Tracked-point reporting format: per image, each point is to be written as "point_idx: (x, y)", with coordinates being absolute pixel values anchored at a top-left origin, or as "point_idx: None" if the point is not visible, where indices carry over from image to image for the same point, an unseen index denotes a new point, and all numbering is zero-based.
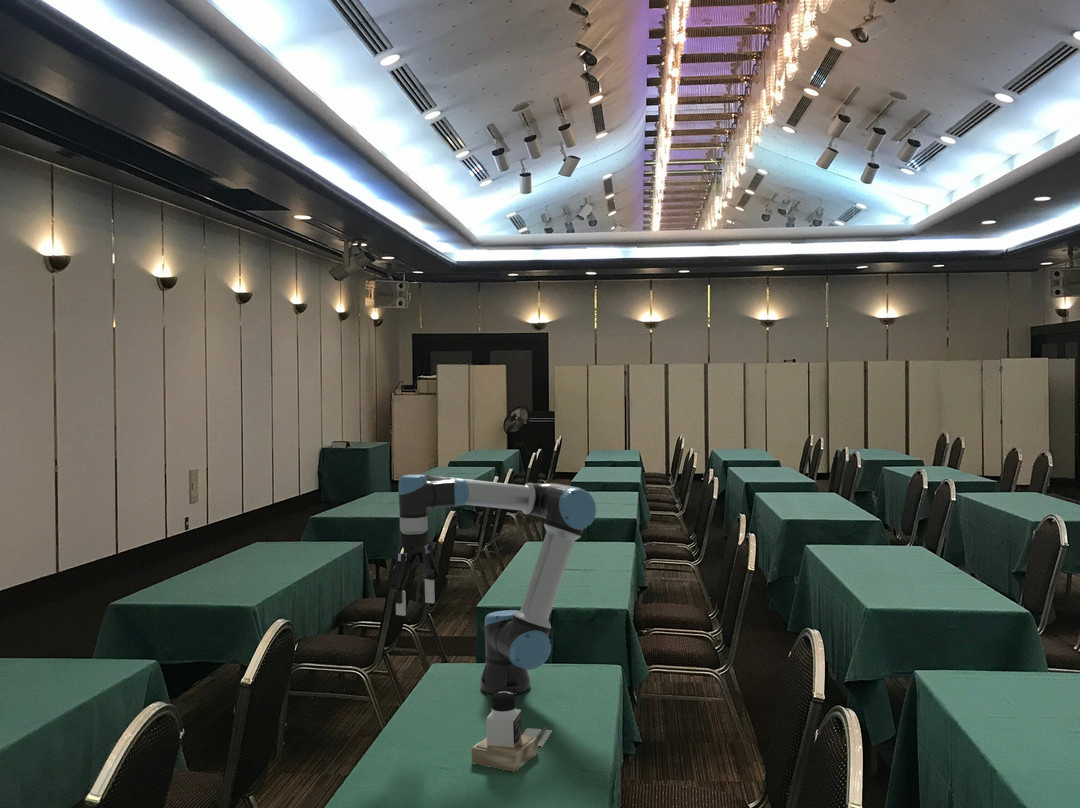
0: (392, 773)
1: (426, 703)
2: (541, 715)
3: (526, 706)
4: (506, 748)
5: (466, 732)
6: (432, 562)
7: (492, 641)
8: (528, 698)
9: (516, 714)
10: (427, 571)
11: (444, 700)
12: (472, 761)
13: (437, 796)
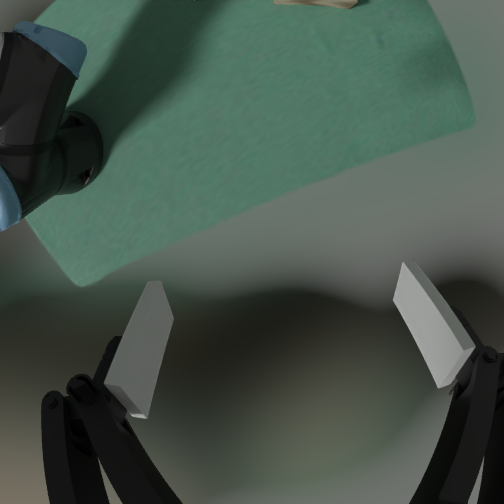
0: (421, 97)
1: (189, 208)
2: (131, 22)
3: (111, 64)
4: None
5: (255, 68)
6: (78, 501)
7: (42, 165)
8: (84, 87)
9: None
10: (144, 465)
11: (162, 192)
12: (350, 7)
13: (434, 22)
